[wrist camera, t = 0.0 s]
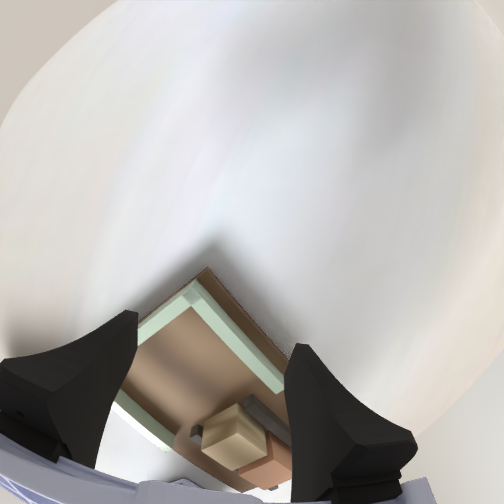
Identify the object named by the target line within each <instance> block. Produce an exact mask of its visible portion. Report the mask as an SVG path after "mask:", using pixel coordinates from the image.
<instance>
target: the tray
mask: <svg viewBox="0 0 504 504" xmlns="http://www.w3.org/2000/svg"><path fill="white" fill-rule="evenodd" d="M190 306H192V307H193V308H194V310H195V311H196V312H197V313H198V314H199V315H200V316H201V317H202V319H203V320H204V321H205V322H206V323H207V324H208V325H209V326H210V327H211V328H212V330H213V331H214V332H215V333H216V334H217V335H218V336H219V337H220V338H221V339H222V340H223V341H224V342H225V343H226V345H227V346H228V347H229V348H230V349H231V350H232V351H233V352H234V353H235V354H236V355H237V356H238V357H239V358H240V359H241V360H242V361H243V362H244V363H245V364H246V365H247V366H248V367H249V368H250V369H251V370H252V371H253V372H254V373H255V374H256V375H257V376H258V377H259V378H260V379H261V380H262V381H263V382H264V383H265V384H266V385H267V386H268V387H269V388H270V389H271V390H272V391H273V392H274V393H275V394H278V393H279V392H281V391H282V390H284V377H283V374H282V373H281V372H280V371H279V370H278V369H277V368H276V367H275V366H274V365H273V364H272V363H271V362H270V361H269V359H268V358H267V357H266V356H265V355H264V354H263V353H262V352H261V351H260V350H259V349H258V348H257V347H256V346H255V344H254V343H253V342H252V341H251V340H250V339H249V338H248V337H247V336H246V335H245V334H244V332H243V331H242V330H241V329H240V328H239V327H238V326H237V325H236V324H235V322H234V321H233V320H232V319H231V318H230V317H229V316H228V315H227V313H226V312H225V311H224V310H223V309H222V308H221V307H220V305H219V304H218V303H217V302H216V301H215V300H214V299H213V297H212V296H211V295H210V294H209V293H208V292H207V290H206V289H205V288H204V287H203V286H202V285H201V283H200V282H199V281H198V280H197V279H195V280H193V281H192V282H191V283H190V284H188V285H187V286H186V287H185V288H183V289H182V290H181V291H180V292H178V293H177V294H176V295H174V296H173V297H172V298H171V299H169V300H168V301H167V302H166V303H164V304H163V305H162V306H161V307H159V308H158V309H157V310H156V311H154V312H153V313H152V314H151V315H149V316H148V317H147V318H146V319H144V320H143V321H142V322H141V323H139V324H138V346H139V345H140V344H141V343H143V342H144V341H145V340H147V339H148V338H149V337H151V336H152V335H153V334H155V333H156V332H157V331H159V330H160V329H161V328H162V327H164V326H165V325H166V324H168V323H169V322H170V321H172V320H173V319H174V318H176V317H177V316H178V315H180V314H181V313H182V312H183V311H185V310H186V309H187V308H189V307H190ZM111 408H112V409H113V410H114V411H115V412H116V413H117V414H119V415H120V416H121V417H122V418H123V419H124V420H125V421H127V422H128V423H129V424H130V425H131V426H133V427H134V428H135V429H136V430H137V431H139V432H140V433H141V434H142V435H144V436H145V437H146V438H147V439H149V440H150V441H151V442H153V443H154V444H155V445H157V446H158V447H159V448H161V449H162V450H163V451H165V452H167V451H170V450H172V449H173V445H174V440H175V435H174V434H173V433H171V432H170V431H169V430H168V429H166V428H165V427H164V426H163V425H161V424H160V423H159V422H158V421H157V420H155V419H154V418H153V417H152V416H151V415H149V414H148V413H147V412H146V411H145V410H144V409H142V408H141V407H140V406H139V405H138V404H137V403H136V402H135V401H134V400H132V399H131V398H130V397H129V396H128V395H127V394H126V393H125V392H124V391H123V390H122V389H121V388H120V389H119V391H118V393H117V396H116V398H115V400H114V402H113V404H112V407H111Z"/></svg>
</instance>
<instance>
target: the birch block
mask: <svg viewBox="0 0 504 504" xmlns="http://www.w3.org/2000/svg"><path fill="white" fill-rule="evenodd" d="M201 451H202V452H204V453H205V454H207V455H208V456H209V457H211V458H212V459H214V460H215V461H217V462H218V463H220V464H221V465H223V466H224V467H226V468H228V469H229V470H231V471H233V470H235V469H238V468H240V467H242V466H245V465H247V464H249V463H251V462H254V461H256V460H258V459H260V458H262V457H264V456H266V455H267V447H266V439H265V431H264V426H263V425H262V424H261V423H260V422H258V421H257V420H256V419H255V418H254V417H252V416H251V415H250V414H249V413H248V412H247V411H245V410H244V408H243V407H241V406H240V405H239V404H238V403H236V404H234V405H232V406H231V407H229V408H227V409H225V410H224V411H222V412H220V413H218V414H216V415H215V416H213V417H211V418H209V419H207V420H205V421H204V428H203V437H202V445H201Z"/></svg>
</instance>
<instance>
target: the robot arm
mask: <svg viewBox="0 0 504 504" xmlns="http://www.w3.org/2000/svg"><path fill="white" fill-rule="evenodd" d="M137 348H138V313H137V312H133V311H129V310H125V311H123V312H122V313H120V314H118V315H117V316H115V317H114V318H113V319H111V320H110V321H108V322H107V323H105V324H103V325H102V326H100V327H99V328H97V329H96V330H94V331H92V332H90V333H89V334H87V335H85V336H83V337H82V338H80V339H78V340H76V341H74V342H71V343H69V344H67V345H64V346H62V347H59V348H56V349H53V350H50V351H47V352H43V353H39V354H35V355H30V356H25V357H17V358H7V359H4V360H3V361H2V362H1V363H0V486H1V487H2V488H4V489H5V490H7V491H8V492H10V493H11V494H13V495H14V496H16V497H17V498H19V499H20V500H22V501H24V502H25V503H27V504H437V503H436V500H435V498H434V495H433V493H432V490H431V488H430V485H429V483H428V480H427V478H426V477H423V478H419V479H415V480H411V481H407V482H405V483H403V484H401V485H400V483H399V480H398V479H400V478H401V476H402V475H401V472H400V469H402V468H403V467H404V466H405V465H406V464H407V463H408V462H409V461H410V460H411V459H412V458H413V457H414V456H415V454H416V452H417V450H418V446H417V443H416V441H415V439H414V437H413V435H412V433H411V431H409V430H407V429H405V428H402V427H400V426H398V425H396V424H394V423H392V422H390V421H388V420H386V419H385V418H383V417H381V416H380V415H378V414H377V413H375V412H374V411H372V410H371V409H369V408H368V407H367V406H365V405H364V404H363V403H361V402H360V401H359V400H358V399H357V398H355V397H354V396H353V395H352V394H351V393H350V392H349V391H348V390H347V389H346V388H345V387H344V386H343V385H342V384H341V383H340V382H339V381H338V380H337V379H336V378H335V377H334V376H333V374H332V373H331V372H330V371H329V370H328V368H327V367H326V366H325V365H324V363H323V362H322V361H321V360H320V358H319V357H318V356H317V354H316V353H315V352H314V351H313V349H312V348H311V347H310V346H309V345H307V344H299V343H296V345H295V347H294V350H293V353H292V355H291V358H290V360H289V363H288V365H287V368H286V371H285V373H284V396H285V402H286V408H287V414H288V420H289V426H290V432H291V443H292V489H291V503H263V501H262V500H260V499H259V498H256V497H254V496H252V495H247V494H241V493H232V492H223V491H214V490H207V489H202V488H201V487H199V486H197V485H196V484H194V483H192V482H191V481H189V480H187V479H180V480H177V481H174V482H171V483H168V482H161V481H154V480H151V481H142V482H140V483H139V484H137V483H134V482H130V481H127V480H123V479H120V478H117V477H114V476H111V475H108V474H105V473H102V472H99V471H97V470H94V469H95V464H96V459H97V454H98V450H99V446H100V442H101V438H102V435H103V432H104V428H105V425H106V421H107V418H108V415H109V412H110V409H111V407H112V404H113V402H114V400H115V398H116V396H117V393H118V391H119V389H120V387H121V385H122V383H123V381H124V380H125V378H126V376H127V374H128V372H129V370H130V367H131V365H132V363H133V360H134V357H135V354H136V351H137Z"/></svg>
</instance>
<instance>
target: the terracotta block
mask: <svg viewBox="0 0 504 504" xmlns="http://www.w3.org/2000/svg"><path fill="white" fill-rule="evenodd" d="M265 439H266V447H267V455H266V456H264V457H262V458H260V459H258V460H256V461H254V462H251V463H249V464H247V465H245V466H242V467H240V468H238V469H239V476H240V477H242V478H244V479H245V480H247V481H249V482H251V483H252V484H254V485H256V486H257V487H259V488H261V489H263V490H266V489H269V488H271V487H274V486H276V485H278V484H281V483H283V482H285V481H288V480H290V479H292V448H291V447H290V446H288V445H287V444H286V443H284V442H283V441H282V440H281V439H279V438H278V437H277V436H276V435H274V434H273V433H272V432H271V431H268V432H266V433H265Z"/></svg>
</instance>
